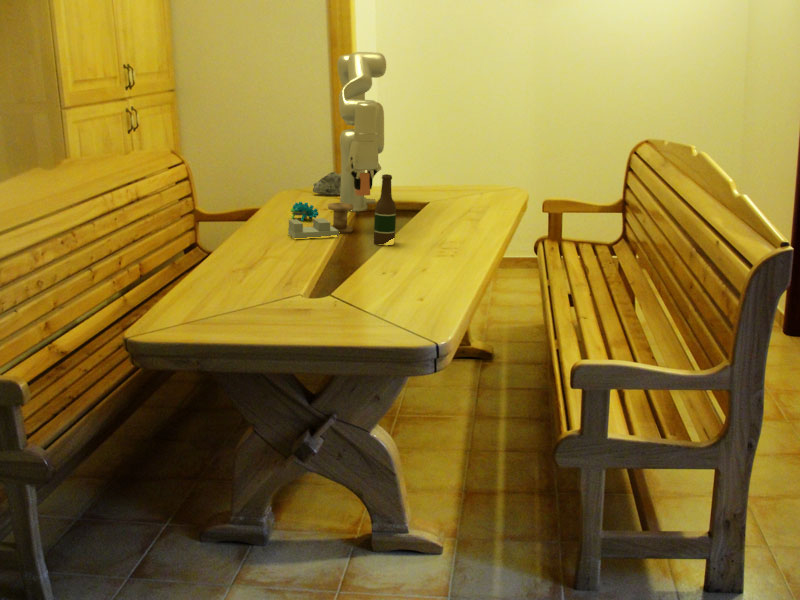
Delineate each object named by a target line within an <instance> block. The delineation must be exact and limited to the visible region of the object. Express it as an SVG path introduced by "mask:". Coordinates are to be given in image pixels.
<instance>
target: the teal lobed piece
mask: <svg viewBox="0 0 800 600" xmlns="http://www.w3.org/2000/svg"><path fill="white" fill-rule="evenodd" d="M290 209H291V210H290V212H291V213H292V217H291V220H292V219H293V220H294V219H295V216H301V218H300V220H299V221H300V222H301V221H303V222H304V220H305V217H307V218H309V219H310V218H312V219H317V216H319V215H320V214H319V212H318V211H319V209H317V208H314V205H313V204H310V206H309V203H308V202H304V203H303V202H302V201H299V202H295V203H294V204H293V205H292V208H290Z"/></svg>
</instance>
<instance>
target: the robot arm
mask: <svg viewBox="0 0 800 600" xmlns="http://www.w3.org/2000/svg"><path fill="white" fill-rule="evenodd" d="M336 66H337V73H338V78H339V81H340V84H341V86H342V88H341V89H340V92H339V95H338V112H339V115H340V117H341V119H342V120H343V121H344V123H345V125H347V126H350V127H351V126H352V127H353V126H354V128H349V129H348V128H347V129H344V130H343V131H341V133H340V135H339V146H340V158H341V159H340V160H341V161H340V164H341V165H340V174H341V193H340V195H339V197H340V198H339V199H340V202H339V203H348V204H352V205H353V210H352V211H351V212H363V211H367V210H369V209H368V207H369V204H370V205H374V204H375V205H376V204H377V201H376V198H367V197H365V196H357V195H355V189H357V190H360V184H361V179H359V176H360V173H370V190H372V187H373V179H374V178H375V176H376V175H377V173H379V172H380V171H381V170H382V167H381V165H380V163H379V154H382V153H383V151H384V148H385V112H384V107H383V105H382V104H381V103H380V102H377V101H375V100H374V99H373V100H372V99H366V93H367V92H369V91H370V89H372V86H373V78H375V79H377V78H381V77H383V76H384V75H385V73H386V71H387V60H386V58H385V55H384V54H383V53H381V52H372V51H371V52H367V51H365V52H364V51H357V52H353V53H349V54H348V53H347V54H343V55H340V56H339V57H338V59H337V63H336Z"/></svg>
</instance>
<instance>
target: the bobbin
mask: <svg viewBox="0 0 800 600" xmlns="http://www.w3.org/2000/svg"><path fill="white" fill-rule="evenodd" d="M327 206H328V207H327V208H328V210H331V211H333V220H332V221H333V223H332V224H330V226H333V227H334V228H335V229H337V230H338V231H339V232H340V234H339V235H343V234H351V233H352V232H353V227H352V226H351V225H348V212H352V211H351V210H353V205H352V204H348V203H340V202H331V203H328V204H327Z"/></svg>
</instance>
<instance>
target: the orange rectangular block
mask: <svg viewBox="0 0 800 600" xmlns="http://www.w3.org/2000/svg"><path fill="white" fill-rule="evenodd" d="M359 179H361V184H360V190H357V189H355V195H357V196H364V197H365V196H371V189H370V173H367V172H365V173H360V176H359Z"/></svg>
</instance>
